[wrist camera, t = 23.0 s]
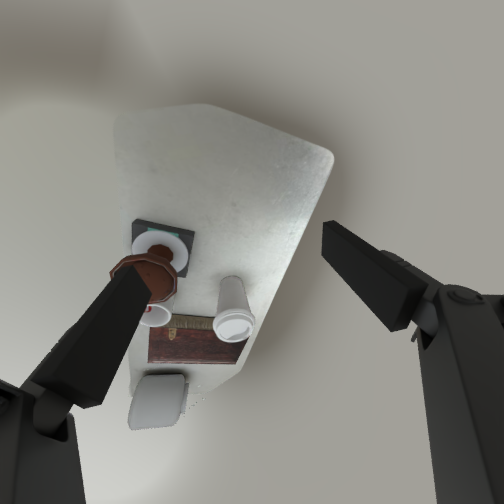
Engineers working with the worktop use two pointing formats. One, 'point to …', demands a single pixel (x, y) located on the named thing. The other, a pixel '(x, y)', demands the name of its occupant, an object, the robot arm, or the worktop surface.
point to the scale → (163, 242)
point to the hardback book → (191, 343)
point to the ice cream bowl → (153, 271)
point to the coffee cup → (233, 312)
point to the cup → (158, 313)
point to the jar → (158, 401)
